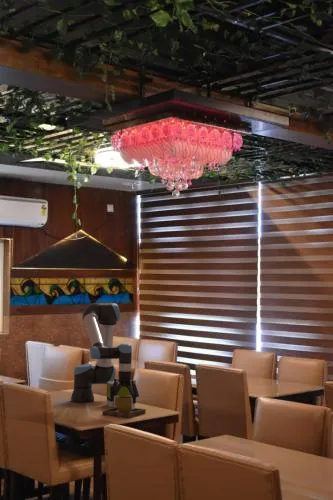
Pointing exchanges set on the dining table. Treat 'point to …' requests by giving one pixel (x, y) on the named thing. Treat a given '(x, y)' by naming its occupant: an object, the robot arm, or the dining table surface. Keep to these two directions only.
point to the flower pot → (123, 404)
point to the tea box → (122, 392)
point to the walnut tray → (124, 415)
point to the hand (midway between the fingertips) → (124, 408)
